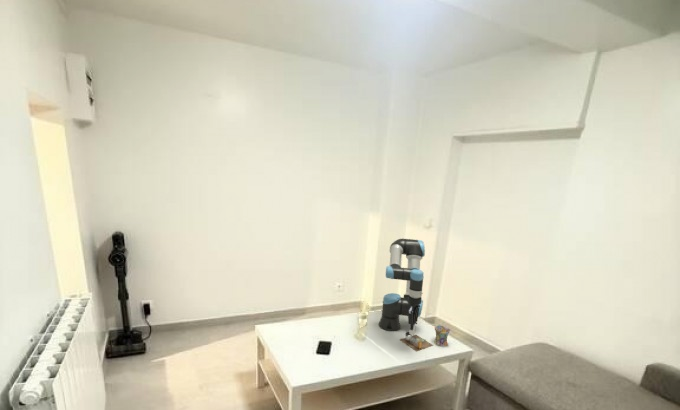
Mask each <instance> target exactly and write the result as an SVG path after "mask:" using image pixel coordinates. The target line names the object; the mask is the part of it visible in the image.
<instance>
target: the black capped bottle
mask: <svg viewBox="0 0 680 410" xmlns="http://www.w3.org/2000/svg"><path fill="white" fill-rule="evenodd" d="M409 332H410V331H406V332H405V337H404V338H405V341H406V342H410V343H411V344H413V345H414V346H416V347H417V348H419V349H421V344H422V342H421V341H419V340H417V339H415V338H414V337H412V336H413V335H411V334H409Z"/></svg>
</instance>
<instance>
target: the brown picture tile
mask: <svg viewBox="0 0 680 410" xmlns="http://www.w3.org/2000/svg"><path fill="white" fill-rule="evenodd" d="M412 337H414V338H415V339H417V340H419V341H421V342H422V344H421V349H419V348H417V347H416V346H414V345H413V344H411V343H410V342H406V341H405V337H404V338H400V339H399V341H400V342H402V343H403V344H405V345H406V346H407V347H409V348H410V349H412V350H413V351H415V352H419V351H421V350H425V349H428V348H430V347H433V346H434V344H432V343H430V342H429V341H427V340H426V339H424V338H423V337H420V336H419V335H417V334H415V335H414V336H413V335H412Z"/></svg>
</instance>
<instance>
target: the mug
mask: <svg viewBox="0 0 680 410" xmlns="http://www.w3.org/2000/svg"><path fill="white" fill-rule="evenodd" d="M434 330H435V339H434V341H433V343H434V344H435V345H436V346H438V347H442V348H446V347H447V346H449V343H448V335H449V334H450V332H451V330H450V328H449V327H447V326H444V325H435V326H434Z"/></svg>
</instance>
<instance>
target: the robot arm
mask: <svg viewBox="0 0 680 410" xmlns="http://www.w3.org/2000/svg"><path fill="white" fill-rule="evenodd" d="M389 253H390V257H389V258H390V259H389V265H387V266H386V268H385V277H386V279H390V280H400V281H406V287H405V288H406V289H405V290H406V291H405V293H404V294H403V296H401V295H400V294H399V293H394V292H393V293H386V294H385V295H384V296H383V298H382V299H383V300H382V309H381V317H380V320H379V321H378V327H379V328H380V329H381V330H383V331H385V332H397V331H400V330H401V328H402V325H401V321H400V316H403V317H404V316H406V317H408V318H407V319H408V320H407V321H408V325H409V331H408V332H409V334H411V335H412V336H414V335H416V334H415V333H416V325H418V320H419V317H420V316H422V315H421V314H422V311H423V305H424V300H423V299H422V296H423V285H424V271H423V270H421V261H422V260H423V257H425V253H426V249H425V244H424V241H423V240H420V239H412V238H411V239H410V238H399V239H396V240H394V241H393V242H392V243H391V244H390V246H389ZM402 255H405V258H406V259H407V267H402Z"/></svg>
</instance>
